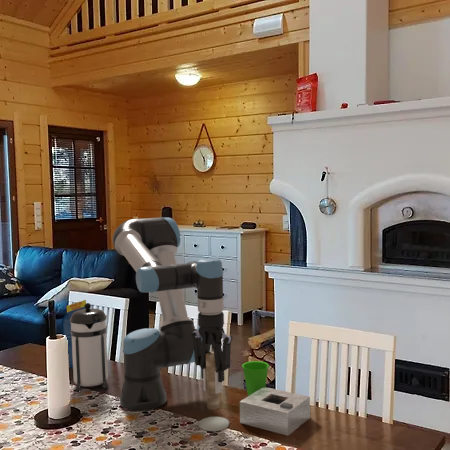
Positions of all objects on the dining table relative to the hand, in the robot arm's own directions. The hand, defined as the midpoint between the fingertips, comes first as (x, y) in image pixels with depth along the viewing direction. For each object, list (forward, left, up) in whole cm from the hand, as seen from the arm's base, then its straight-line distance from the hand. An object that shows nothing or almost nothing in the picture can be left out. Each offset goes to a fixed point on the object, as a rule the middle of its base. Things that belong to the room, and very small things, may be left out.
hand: (213, 390), depth 162 cm
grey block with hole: (+14, +12, -10) cm, 21 cm away
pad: (0, 0, -10) cm, 10 cm away
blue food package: (-80, +18, -11) cm, 83 cm away
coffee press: (-58, +4, -11) cm, 59 cm away
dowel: (0, 0, -5) cm, 5 cm away
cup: (0, +24, -11) cm, 26 cm away
